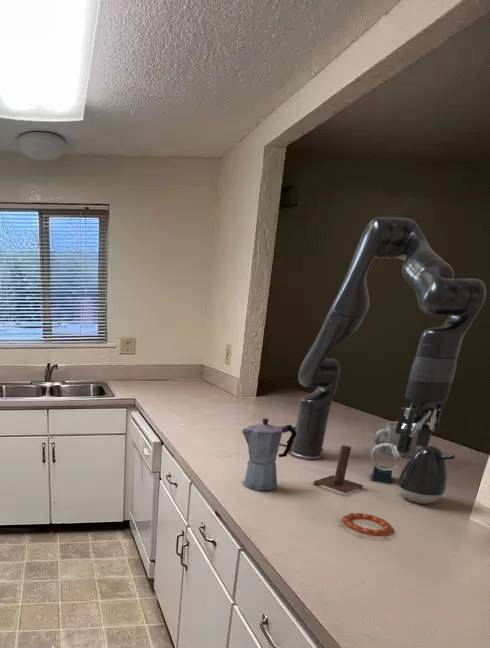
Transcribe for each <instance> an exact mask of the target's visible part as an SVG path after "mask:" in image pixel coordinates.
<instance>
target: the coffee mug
mask: <svg viewBox="0 0 490 648" xmlns="http://www.w3.org/2000/svg"><path fill="white" fill-rule="evenodd" d="M397 424H398V421H388V422H387V423H386V426H385V428H382V429H379V430H377V431H376V433H375V435H374V443H375V444H376V446H377V445H379V444H382V443H388V444H389V443H390V444H393V445H394V446H397V447H398V443H399V439H400V435H399V434H397V433H395V431H396V427H397ZM402 426H403V424H402ZM401 428H402V427H401ZM411 430H412V429H411ZM419 430H422V429H418V430H416V432H415V434H414V436H413V439H412V443H411V447H410V451H409V452H408V453H402V452H400V454H401V457H402V458H411V457H412V456H413V454H414V453H415V452H416V451H417V448H418V446H417V445H416V441H417V437H418V433H419ZM382 435H383V439H382V440H380V439H381V436H382ZM380 451H381V452H382V453H383V454H387V455H390V456H393V453H392V450H391V447H389V446H381V447H380Z"/></svg>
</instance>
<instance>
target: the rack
mask: <svg viewBox="0 0 490 648" xmlns="http://www.w3.org/2000/svg"><path fill="white" fill-rule="evenodd" d="M351 450H352V446H349V445H341V446H340V449H339V455H338V460H337V464H336V468H335V474H334V475H333V474H332V475H329V476H326V477H323V478H320V479H315V480H314V481H313V485H314V486H316V487H320V486H324V487H327V488H329V489H332V490H335V491H337V492H340V493H343V494H346V493H348V492H351V491H355V490H358V489H359V490H363V487H364V484H361V483H357V482H354V481H352V480H348V479H345V477H346V472H347V469H348V468H347V467H348V463H349V459H350V454H351Z"/></svg>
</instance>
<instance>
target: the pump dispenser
mask: <svg viewBox="0 0 490 648" xmlns="http://www.w3.org/2000/svg"><path fill="white" fill-rule="evenodd" d="M454 459H456V455H455V454H444V453H443V451H442V450H441V449H440V448H439V447H437V446H434V445H428V446H427V447H420V448H419V449H417V450H416V452H415V453H414V454H413V456H412V457H409V459H408V460H407V462H406V463H405V465H404V466H403V468H402V470H401V473H400V475H399V477H398V479H397V486H398V492H399V493H400V494H399V495H401V496H402V497H403V498H404V499H405V500H407V501H409V502H411V503H415V504H421V505H422V504H423V505H425V504H426V505H427V504H432V503H434V502H437V501H438V500H439V499H440V498H441V497H442V495H444V494H445V492H446V490H447V483H448V482H447V481H448V468H447V462H446V461H447V460H454Z"/></svg>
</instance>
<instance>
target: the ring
mask: <svg viewBox="0 0 490 648" xmlns="http://www.w3.org/2000/svg"><path fill="white" fill-rule="evenodd" d="M354 520H366V521H370V522H373V523H376V524H378V525H379V526H381V527H382V529H371V528H366V527H362V526H361V525H357V524H355V523H354V522H352V521H354ZM341 522H342V524H343V525H344V526H346V527H347V528H348V529H349V530H352V531H355V532H357V533H359V534H362V535H363V534H364V535H368V536H372V537H387V536H389V535H392V534H393V533H394V531H393V526H392V525H391V524H390V523H389V522H388V521H387V520H385V519H383V518H380V517H378V516H375V515H373V514H367V513H361V512H352V513H351V512H350V513H349V514H345V515H343V517H342V521H341Z"/></svg>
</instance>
